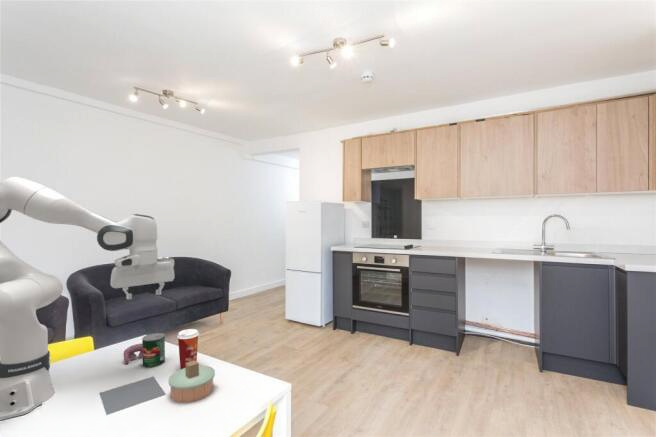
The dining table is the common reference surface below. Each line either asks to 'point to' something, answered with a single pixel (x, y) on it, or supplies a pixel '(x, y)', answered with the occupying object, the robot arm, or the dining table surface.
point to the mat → (130, 395)
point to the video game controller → (132, 352)
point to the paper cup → (187, 346)
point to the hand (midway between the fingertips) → (144, 296)
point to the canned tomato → (153, 350)
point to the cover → (191, 376)
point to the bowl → (191, 393)
